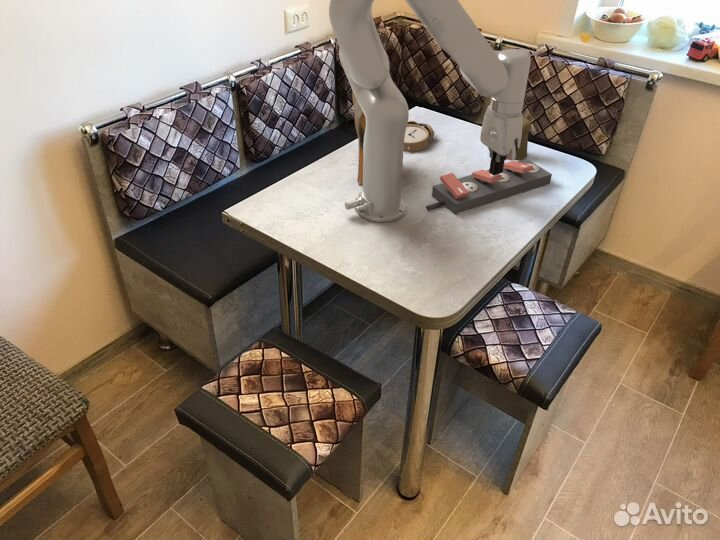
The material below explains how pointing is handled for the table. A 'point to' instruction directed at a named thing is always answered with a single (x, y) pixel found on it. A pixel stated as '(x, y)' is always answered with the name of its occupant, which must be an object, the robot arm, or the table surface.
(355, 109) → the pancake mix bag
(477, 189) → the power strip
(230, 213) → the table surface
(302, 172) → the table surface
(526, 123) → the cork
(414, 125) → the alarm clock
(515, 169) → the rocker outlet
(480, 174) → the outlet rocker
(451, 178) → the outlet rocker
